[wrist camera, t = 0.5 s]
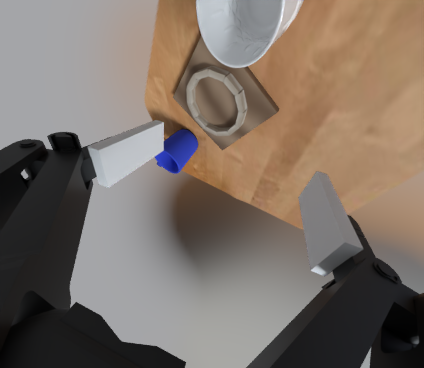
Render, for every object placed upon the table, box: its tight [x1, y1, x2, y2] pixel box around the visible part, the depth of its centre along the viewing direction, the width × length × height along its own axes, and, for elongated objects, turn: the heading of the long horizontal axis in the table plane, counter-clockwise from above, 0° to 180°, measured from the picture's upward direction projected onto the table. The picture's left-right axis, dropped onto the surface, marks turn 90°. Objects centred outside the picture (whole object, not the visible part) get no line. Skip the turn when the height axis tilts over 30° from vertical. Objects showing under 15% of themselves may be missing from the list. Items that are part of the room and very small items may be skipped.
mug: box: [155, 129, 198, 173], centre depth 44 cm, size 8×12×10 cm
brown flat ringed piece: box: [173, 35, 279, 150], centre depth 31 cm, size 16×16×3 cm
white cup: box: [196, 0, 304, 68], centre depth 16 cm, size 8×8×10 cm
